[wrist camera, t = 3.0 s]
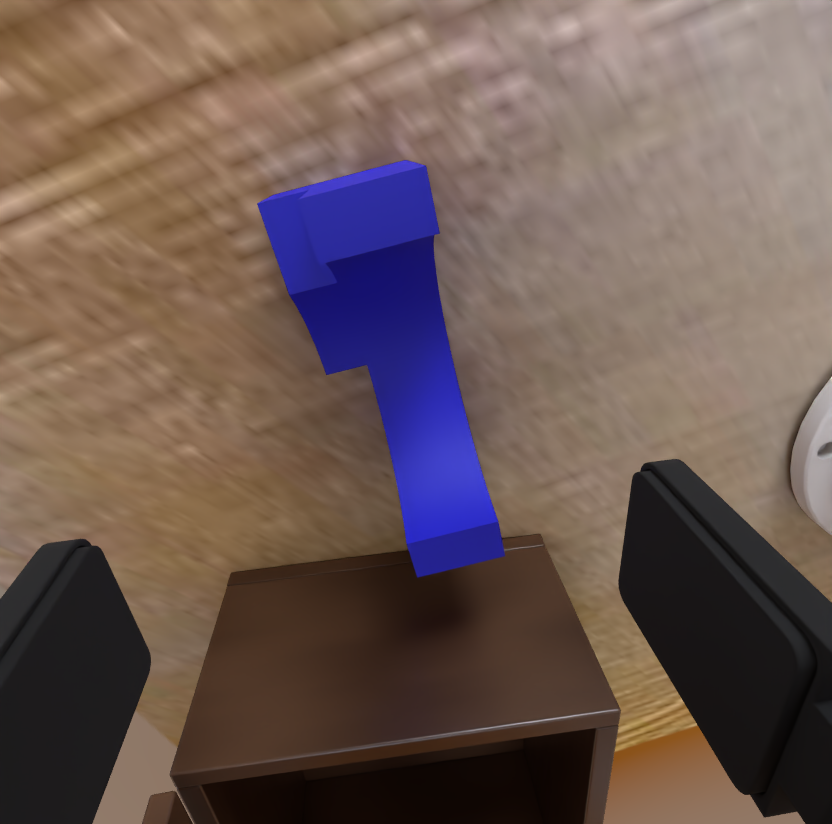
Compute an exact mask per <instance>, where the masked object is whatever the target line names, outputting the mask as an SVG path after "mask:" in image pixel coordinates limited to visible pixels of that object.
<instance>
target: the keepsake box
mask: <svg viewBox="0 0 832 824" xmlns="http://www.w3.org/2000/svg"><path fill="white" fill-rule="evenodd" d="M502 542H503V547H504V552H505V556H504V557H500V558H496V559H491V560H487V561H483V562H479V563H475V564H471V565H467V566H463V567H459V568H455V569H451V570H447V571H442V572H438V573H434V574H430V575H426V576H422V577H418V578H417V575H416V572H415V569H414V566H413V563H412V559H411V556H410V553H409V551H402V552H394V553H386V554H378V555H370V556H362V557H354V558H346V559H338V560H330V561H322V562H314V563H306V564H298V565H290V566H282V567H274V568H266V569H258V570H250V571H242V572H234V573H231V574H230V578H229V581H228V584H227V586H228V587H227V589H226V592H225V595H224V599H223V602H222V605H221V608H220V612H219V615H218V618H217V621H216V625H215V628H214V631H213V634H212V638H211V641H210V644H209V647H208V651H207V654H206V657H205V660H204V664H203V667H202V670H201V673H200V677H199V680H198V683H197V687H196V690H195V693H194V696H193V700H192V703H191V706H190V709H189V713H188V716H187V719H186V722H185V726H184V729H183V732H182V735H181V739H180V742H179V745H178V748H177V752H176V755H175V758H174V761H173V765H172V768H171V771H170V777H171V779H172V781H173V783H174V785H175V787H177V791H178V793H179V795H180V797H181V799H182V801H183V803H184V805H185V806H186V809H187V810H188V812H189V814H190V816H191V818H192V820H193V822H194V824H603V820H604V814H605V808H606V801H607V794H608V789H609V783H610V776H611V770H612V764H613V758H614V751H615V745H616V739H617V733H618V724H619V719H620V713H621V710H620V708H619V705H618V703H617V701H616V699H615V697H614V695H613V692H612V690H611V688H610V686H609V684H608V682H607V679H606V677H605V675H604V673H603V671H602V668H601V666H600V664H599V662H598V660H597V658H596V655H595V653H594V651H593V649H592V647H591V645H590V642H589V640H588V638H587V636H586V634H585V632H584V629H583V627H582V625H581V623H580V621H579V618H578V616H577V614H576V612H575V610H574V608H573V605H572V603H571V601H570V599H569V597H568V595H567V592H566V590H565V588H564V586H563V584H562V582H561V579H560V577H559V575H558V573H557V571H556V568H555V566H554V564H553V562H552V560H551V558H550V555H549V553H548V551H547V549H546V547H545V544H544V542H543V539H542V537H541V535H540V534H537V535H529V536H521V537H513V538H505V539H502Z"/></svg>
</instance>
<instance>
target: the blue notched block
mask: <svg viewBox="0 0 832 824" xmlns="http://www.w3.org/2000/svg"><path fill="white" fill-rule="evenodd" d="M257 205H258V207H259V210H260V213H261V216H262V219H263V222H264V224H265V227H266V230H267V233H268V236H269V239H270V242H271V244H272V247H273V250H274V253H275V256H276V259H277V261H278V264H279V267H280V270H281V273H282V276H283V278H284V281H285V284H286V287H287V290H288V293H289V295H290V297H291V298H292V300H293V302H294V303H295V305H296V306H297V308H298V310H299V312H300V314H301V316H302V317H303V319H304V321H305V323H306V326H307V328H308V330H309V332H310V334H311V337H312V339H313V341H314V344H315V346H316V348H317V351H318V354H319V356H320V359H321V361H322V364H323V367H324V370H325V373H326V375H329V374H333V373H337V372H341V371H344V370H348V369H352V368H356V367H360V366H364V365H367V366H368V369H369V373H370V376H371V380H372V383H373V387H374V390H375V394H376V398H377V401H378V405H379V409H380V413H381V417H382V421H383V425H384V429H385V433H386V437H387V441H388V445H389V450H390V454H391V459H392V463H393V468H394V472H395V477H396V482H397V487H398V492H399V498H400V503H401V509H402V515H403V521H404V528H405V535H406V543H407V547H408V550H409V553H410V556H411V559H412V563H413V566H414V569H415V572H416V575H417V578H418V577H422V576H426V575H430V574H434V573H438V572H442V571H447V570H451V569H455V568H459V567H463V566H467V565H471V564H475V563H479V562H483V561H487V560H491V559H496V558H500V557H504V556H505V552H504V547H503V542H502V538H501V533H500V528H499V523H498V519H497V517H496V514H495V511H494V508H493V505H492V502H491V499H490V496H489V493H488V490H487V487H486V483H485V480H484V477H483V474H482V470H481V467H480V464H479V460H478V457H477V453H476V450H475V446H474V443H473V439H472V435H471V432H470V428H469V424H468V421H467V417H466V413H465V409H464V405H463V401H462V397H461V393H460V389H459V385H458V381H457V377H456V373H455V368H454V364H453V360H452V355H451V351H450V346H449V341H448V337H447V332H446V327H445V322H444V317H443V312H442V306H441V301H440V295H439V289H438V283H437V276H436V269H435V260H434V235H436V234H439V233H440V232H439V227H438V223H437V218H436V213H435V208H434V203H433V198H432V193H431V188H430V183H429V178H428V173H427V168H426V166H425V165H422V164H418V163H415V162H411V161H408V160H404V161H400V162H396V163H393V164H389V165H385V166H381V167H377V168H374V169H370V170H366V171H362V172H358V173H355V174H351V175H347V176H343V177H339V178H336V179H332V180H328V181H324V182H321V183H317V184H313V185H309V186H305V187H302V188H298V189H294V190H290V191H286V192H283V193H279V194H275V195H272V196H270V197H269V198H267V199H265V200H263V201H261V202H259V203H257Z"/></svg>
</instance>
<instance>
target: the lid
mask: <svg viewBox="0 0 832 824" xmlns="http://www.w3.org/2000/svg"><path fill="white" fill-rule="evenodd" d="M142 824H193V823H192V821H191V819H190V818H189V816H188V814H187V812H186V810H185V808H184V806H183V804H182V802H181V800H180V798H179V797H178V795H177V793H176V792H175V791H171V792H165V793H160V794H154V795H151V796H150V798H149V802H148V805H147V809H146V812H145V816H144V819H143V822H142Z"/></svg>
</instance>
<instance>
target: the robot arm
mask: <svg viewBox="0 0 832 824" xmlns="http://www.w3.org/2000/svg"><path fill="white" fill-rule="evenodd" d="M790 474H791V483H792V490H793V492H794V495H795V497H796V500H797V502H798V505H799V506H800V507H801V508H802V510H803V511H804V512H805V513H806V514H807V516H808V517H809V518H810V519H811V520H813V521H814V522H815V523H816V524H818V525H819V526H820V527H822V528H823V529H824V530H825V531H826V532H828V533H829V534H831V535H832V377H831V378H830V379H829V381H828V382H827V383H826V385H825V386H824V387H823V389H822V390H821V391H820V393H819V394H818V395H817V397H816V398H815V399H814V401H813V403H812V405H811V407H810V409H809V410H808V412H807V414H806V416H805V418H804V420H803V421H802V423H801V426H800V429H799V432H798V435H797V438H796V441H795V443H794V446H793V451H792V459H791V466H790ZM619 590H620V594H621V597H622V599H623V601H624V603H625V605H626V607H627V608H628V610H629V612H630V613H631V615H632V617H633V618H634V620H635V622H636V623H637V625H638V627H639V628H640V630H641V632H642V633H643V635H644V637H645V638H646V640H647V642H648V643H649V645H650V647H651V648H652V650H653V652H654V653H655V655H656V657H657V658H658V660H659V662H660V663H661V665H662V667H663V668H664V670H665V672H666V673H667V675H668V677H669V678H670V680H671V682H672V683H673V685H674V687H675V688H676V690H677V691H678V693H679V695H680V696H681V698H682V700H683V701H684V703H685V705H686V706H687V708H688V710H689V711H690V713H691V715H692V716H693V718H694V720H695V721H696V723H697V725H698V726H699V728H700V730H701V731H702V733H703V734H704V736H705V738H706V739H707V741H708V743H709V745H710V746H711V748H712V750H713V751H714V753H715V755H716V756H717V758H718V760H719V761H720V763H721V765H722V766H723V768H724V770H725V771H726V773H727V775H728V776H729V778H730V780H731V781H732V783H733V784H734V786H735V787H736V788H737V789H738V790H739V791H740V792H741V793H743V794H744V795H749V794H750V795H751V797H752V799H753V800H754V802H755V803H756V805H757V807H758V808H759V810H760V812H761V813H762V815H763V816H764V817H770V816H775V815H780V814H786V813H791V812H798V813H799V815H800V816H801V817H802V819H803V821H804V822H805V824H832V603H831V602H830V601H829V600H828V599H827V598H826V597H825V596H824V595H823V594H822V593H821V592H820V591H819V590H818V589H817V588H815V587H814V586H813V585H812V584H811V583H810V582H809V581H808V580H807V579H806V578H805V577H804V576H803V575H802V574H801V573H800V572H799V571H798V570H796V569H795V568H794V567H793V566H792V565H791V564H790V563H789V562H788V561H787V560H786V559H785V558H784V557H783V556H782V555H781V554H780V553H779V552H778V551H776V550H775V549H774V548H773V547H772V546H771V545H770V544H769V543H768V542H767V541H766V540H765V539H764V538H763V537H762V536H761V535H760V534H759V533H757V532H756V531H755V530H754V529H753V528H752V527H751V526H750V525H749V524H748V523H747V522H746V521H745V520H744V519H743V518H742V517H741V516H740V515H739V514H737V513H736V512H735V511H734V510H733V509H732V508H731V507H730V506H729V505H728V504H727V503H726V502H725V501H724V500H723V499H722V498H721V497H720V496H718V495H717V494H716V493H715V492H714V491H713V490H712V489H711V488H710V487H709V486H708V485H707V484H706V483H705V482H704V481H703V480H702V479H701V478H700V477H698V476H697V475H696V474H695V473H694V472H693V471H692V470H691V469H690V468H689V467H688V466H687V465H686V464H685V463H684V462H682V461H681V460H679V459H671V460H664V461H656V462H649V463H645V464H644V465H643V466H642V468H641V471H640V472H637V473H635V474H634V475H633V479H632V485H631V492H630V500H629V507H628V514H627V522H626V529H625V536H624V544H623V551H622V559H621V566H620V573H619ZM150 665H151V657H150V652H149V649H148V647H147V645H146V643H145V641H144V639H143V637H142V634H141V632H140V630H139V628H138V626H137V624H136V622H135V619H134V617H133V615H132V613H131V611H130V609H129V607H128V605H127V602H126V600H125V598H124V596H123V594H122V592H121V590H120V588H119V585H118V583H117V581H116V579H115V577H114V575H113V573H112V571H111V568H110V566H109V564H108V562H107V560H106V558H105V556H104V553H103V552H102V550H101V548H99V547H98V546H92V545H91V544H90V542H88V541H87V540H86V539H76V540H69V541H61V542H54V543H47V544H45V545H43V546H42V547H41V548H40V549H39V550H38V551H37V552H36V553H35V555H34V556H33V557H32V559H31V560H30V561H29V562H28V564H27V565H26V566H25V568H24V569H23V570H22V572H21V573H20V574H19V575H18V577H17V578H16V579H15V581H14V582H13V583H12V585H11V586H10V587H9V589H8V590H7V591H6V592H5V594H4V595H3V596H2V598H1V599H0V824H92V823H93V820H94V818H95V815H96V812H97V810H98V807H99V804H100V802H101V799H102V796H103V794H104V791H105V788H106V786H107V783H108V781H109V778H110V775H111V773H112V770H113V767H114V765H115V762H116V759H117V757H118V754H119V752H120V749H121V746H122V744H123V741H124V738H125V736H126V733H127V730H128V728H129V725H130V722H131V719H132V717H133V714H134V712H135V709H136V707H137V704H138V701H139V699H140V696H141V693H142V691H143V688H144V685H145V683H146V680H147V677H148V675H149V671H150Z"/></svg>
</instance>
